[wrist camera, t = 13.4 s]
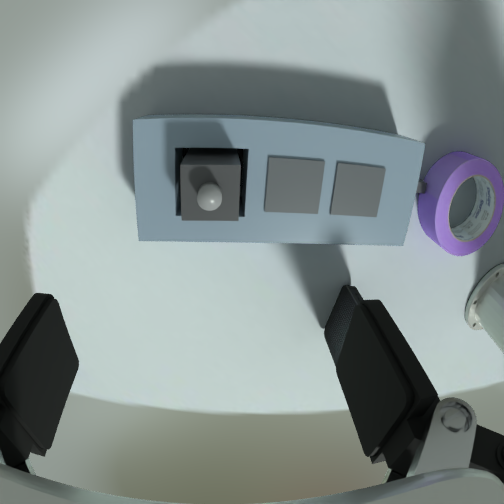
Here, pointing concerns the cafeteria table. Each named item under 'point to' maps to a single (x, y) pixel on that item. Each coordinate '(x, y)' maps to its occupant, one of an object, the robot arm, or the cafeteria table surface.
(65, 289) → the cafeteria table surface
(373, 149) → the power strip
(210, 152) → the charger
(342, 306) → the phone
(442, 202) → the masking tape
